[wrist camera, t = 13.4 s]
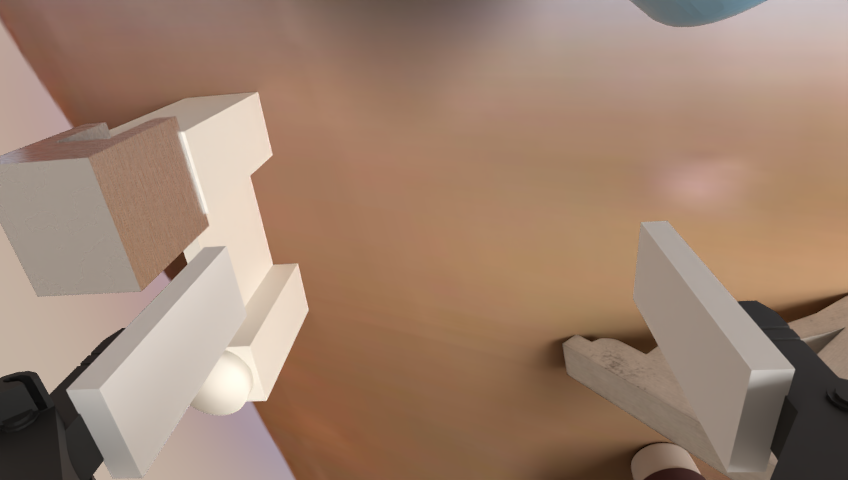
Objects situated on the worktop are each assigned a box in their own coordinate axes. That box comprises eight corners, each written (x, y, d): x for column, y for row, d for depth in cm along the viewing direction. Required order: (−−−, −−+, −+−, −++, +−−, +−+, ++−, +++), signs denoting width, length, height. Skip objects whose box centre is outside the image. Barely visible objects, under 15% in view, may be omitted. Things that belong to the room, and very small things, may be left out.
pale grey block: (85, 123, 35) (-29, 166, 27) (175, 116, 34) (88, 157, 26) (126, 230, 38) (37, 296, 30) (209, 225, 38) (141, 291, 30)
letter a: (727, 260, 69) (567, 374, 58) (727, 231, 68) (562, 343, 56) (948, 323, 51) (778, 509, 40) (956, 287, 49) (781, 470, 38)
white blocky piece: (185, 98, 48) (45, 157, 32) (257, 91, 47) (152, 148, 31) (248, 312, 58) (168, 438, 42) (308, 309, 58) (249, 436, 41)
